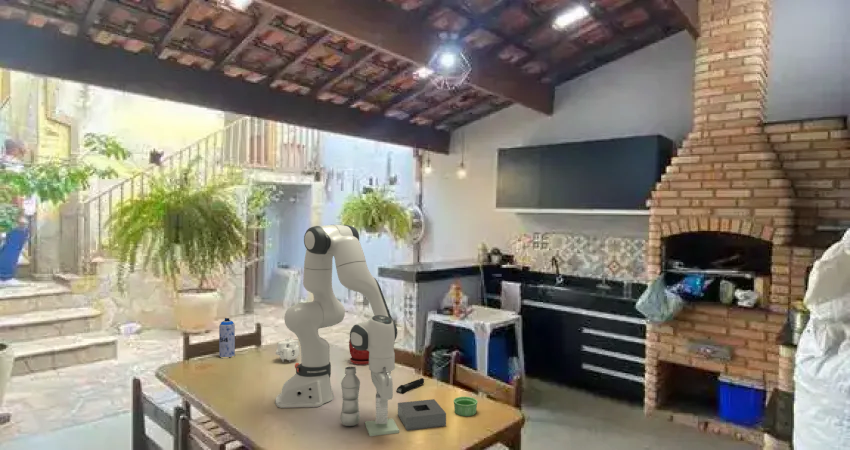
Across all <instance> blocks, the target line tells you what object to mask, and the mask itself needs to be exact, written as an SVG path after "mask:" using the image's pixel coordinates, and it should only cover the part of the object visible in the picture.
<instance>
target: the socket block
mask: <svg viewBox="0 0 850 450" xmlns="http://www.w3.org/2000/svg"><path fill="white" fill-rule="evenodd" d="M397 416H398V418H399V419H400V421H401V423H402V424H403V426H404V428H405V430H406V432H408V431H415V430H425V429H432V428H441V427H446V426H447V413H446V411H445V410H444V409H443V408H442V407H441V405H440V404H439V403H438V402H437V401H436V400H435V398H434V399H433V398H432V399H423V400H421V399H420V400H413V401H403V402H402V401H401V402H398V403H397Z"/></svg>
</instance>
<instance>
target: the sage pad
mask: <svg viewBox="0 0 850 450" xmlns="http://www.w3.org/2000/svg"><path fill="white" fill-rule="evenodd" d="M364 425H365V428H366V431H367V433H368V435H369V437H375V436H384V435H393V434H399V433H400V429H399V427H398V426H397V423H396V421H395V420H394V418H393V417H392V418H388V422H387V424H376V419H375V420H367V421H364Z"/></svg>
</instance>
